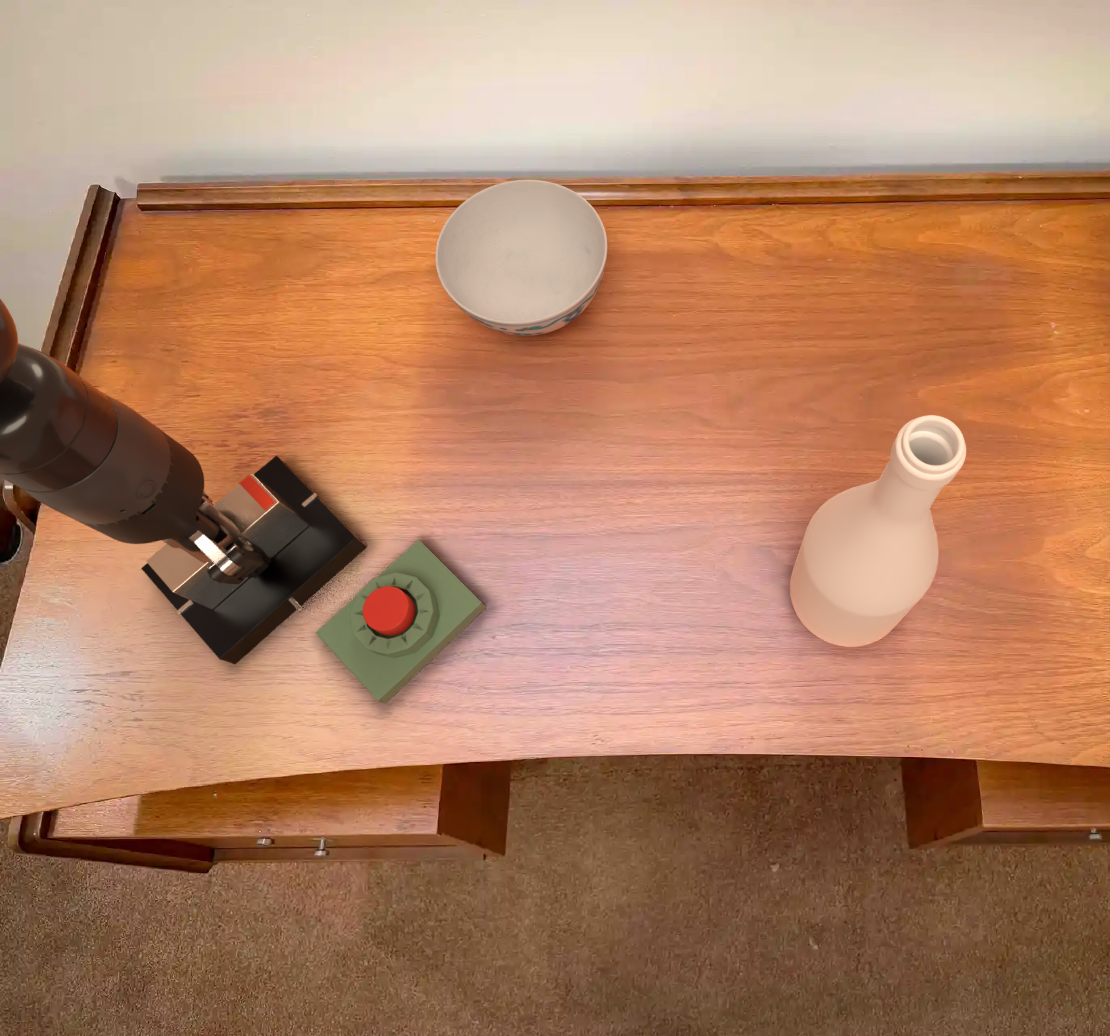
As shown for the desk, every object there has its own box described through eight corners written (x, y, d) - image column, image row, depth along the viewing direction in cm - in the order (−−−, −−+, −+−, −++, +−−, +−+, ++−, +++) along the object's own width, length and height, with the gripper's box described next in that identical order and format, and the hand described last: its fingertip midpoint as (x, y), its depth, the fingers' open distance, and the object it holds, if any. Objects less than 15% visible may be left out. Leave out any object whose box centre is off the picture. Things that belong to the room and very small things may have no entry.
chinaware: (427, 321, 82) (400, 272, 75) (520, 211, 86) (503, 154, 79) (556, 396, 79) (541, 352, 72) (646, 277, 83) (640, 225, 76)
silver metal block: (212, 610, 70) (171, 591, 65) (186, 580, 71) (143, 560, 66) (309, 525, 73) (277, 500, 67) (283, 497, 74) (250, 471, 68)
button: (390, 645, 69) (382, 640, 67) (361, 614, 69) (352, 609, 68) (424, 612, 69) (417, 607, 68) (395, 582, 70) (388, 576, 69)
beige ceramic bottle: (792, 651, 71) (848, 532, 43) (785, 540, 74) (834, 362, 46) (908, 648, 71) (1042, 527, 43) (896, 538, 74) (1013, 357, 46)
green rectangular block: (385, 704, 70) (369, 698, 67) (323, 637, 72) (305, 627, 69) (486, 607, 73) (476, 597, 69) (424, 545, 75) (411, 532, 71)
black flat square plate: (245, 679, 71) (229, 673, 68) (146, 565, 74) (127, 555, 72) (380, 558, 74) (368, 548, 72) (279, 454, 78) (265, 441, 75)
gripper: (-3, 437, 56) (156, 525, 72) (121, 582, 52) (259, 641, 69) (96, 362, 58) (230, 465, 74) (222, 498, 54) (333, 575, 70)
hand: (243, 549), depth 71 cm, fingers closed on silver metal block, 3 cm apart
